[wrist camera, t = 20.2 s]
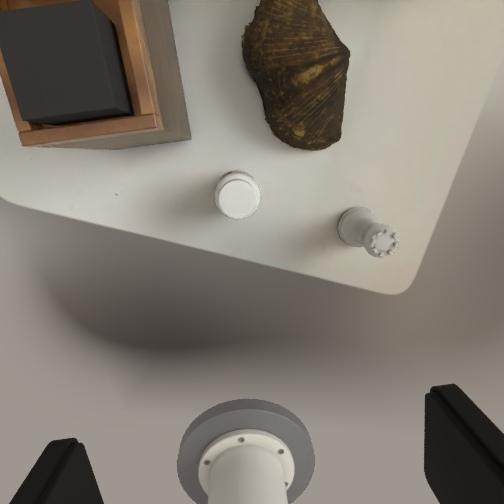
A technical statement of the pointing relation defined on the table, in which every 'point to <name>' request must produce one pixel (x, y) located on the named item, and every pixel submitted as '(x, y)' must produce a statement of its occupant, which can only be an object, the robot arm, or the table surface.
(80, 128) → the box
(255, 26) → the seashell
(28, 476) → the robot arm
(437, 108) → the table surface
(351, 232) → the rook chess piece
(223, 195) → the pill bottle
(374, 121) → the table surface
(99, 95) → the black square block
